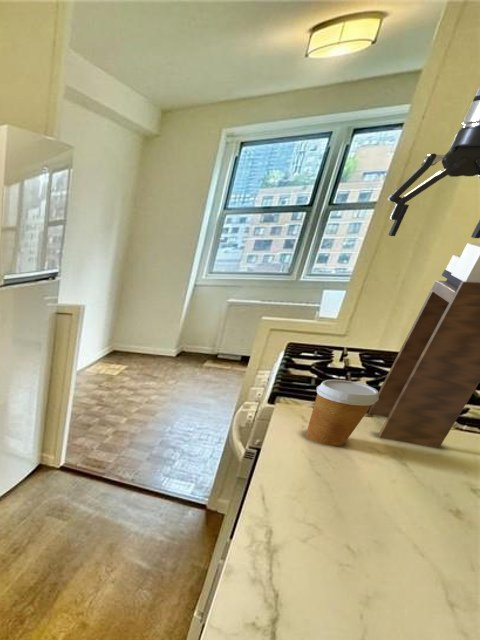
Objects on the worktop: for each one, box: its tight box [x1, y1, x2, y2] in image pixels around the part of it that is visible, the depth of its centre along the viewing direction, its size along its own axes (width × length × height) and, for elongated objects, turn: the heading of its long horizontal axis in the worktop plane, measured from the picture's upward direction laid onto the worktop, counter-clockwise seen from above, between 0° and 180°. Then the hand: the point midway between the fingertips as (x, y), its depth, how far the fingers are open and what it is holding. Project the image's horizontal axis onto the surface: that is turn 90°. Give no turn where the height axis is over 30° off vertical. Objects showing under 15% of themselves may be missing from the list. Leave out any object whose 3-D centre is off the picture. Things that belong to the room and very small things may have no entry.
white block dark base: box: [441, 242, 480, 287], centre depth 95 cm, size 6×18×7 cm, turn 145°
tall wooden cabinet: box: [368, 280, 480, 449], centre depth 98 cm, size 9×16×32 cm, turn 145°
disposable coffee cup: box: [305, 379, 379, 447], centre depth 100 cm, size 10×10×12 cm
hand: (431, 236), depth 110 cm, fingers open, 13 cm apart
